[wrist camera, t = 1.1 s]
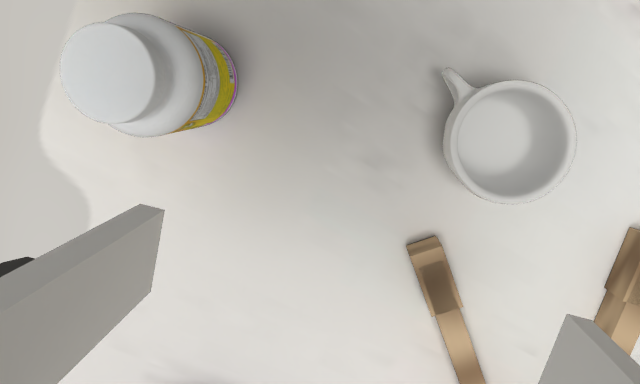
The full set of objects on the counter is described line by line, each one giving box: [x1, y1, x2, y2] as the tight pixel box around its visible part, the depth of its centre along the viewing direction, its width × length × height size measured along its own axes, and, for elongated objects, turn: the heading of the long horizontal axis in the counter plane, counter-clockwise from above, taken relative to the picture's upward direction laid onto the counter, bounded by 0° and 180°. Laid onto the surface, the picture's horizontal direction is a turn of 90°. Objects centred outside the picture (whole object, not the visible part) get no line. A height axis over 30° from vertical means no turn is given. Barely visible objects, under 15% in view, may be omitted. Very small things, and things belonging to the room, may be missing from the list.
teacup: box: [441, 68, 577, 204], centre depth 30 cm, size 10×8×5 cm
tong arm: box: [406, 236, 486, 384], centre depth 35 cm, size 21×2×2 cm, turn 21°
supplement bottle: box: [60, 13, 238, 137], centre depth 27 cm, size 7×7×13 cm
